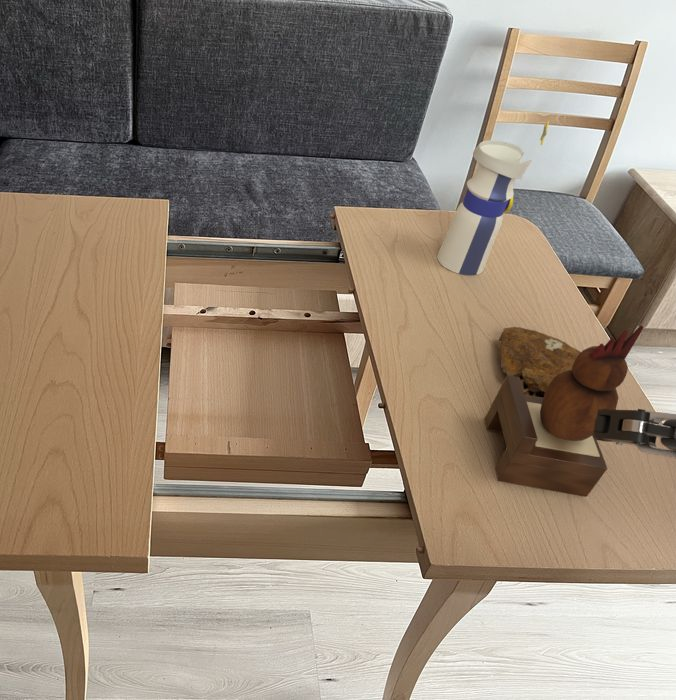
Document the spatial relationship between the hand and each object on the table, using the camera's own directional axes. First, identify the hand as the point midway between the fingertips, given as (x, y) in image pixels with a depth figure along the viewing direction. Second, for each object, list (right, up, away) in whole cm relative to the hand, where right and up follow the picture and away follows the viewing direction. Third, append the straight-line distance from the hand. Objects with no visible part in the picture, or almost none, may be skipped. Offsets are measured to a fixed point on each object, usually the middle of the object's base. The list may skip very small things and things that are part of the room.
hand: (648, 437), depth 63 cm
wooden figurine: (0, -1, +16) cm, 16 cm away
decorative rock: (+5, +4, +31) cm, 31 cm away
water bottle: (+2, +22, +51) cm, 56 cm away
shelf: (-2, -5, +19) cm, 20 cm away
